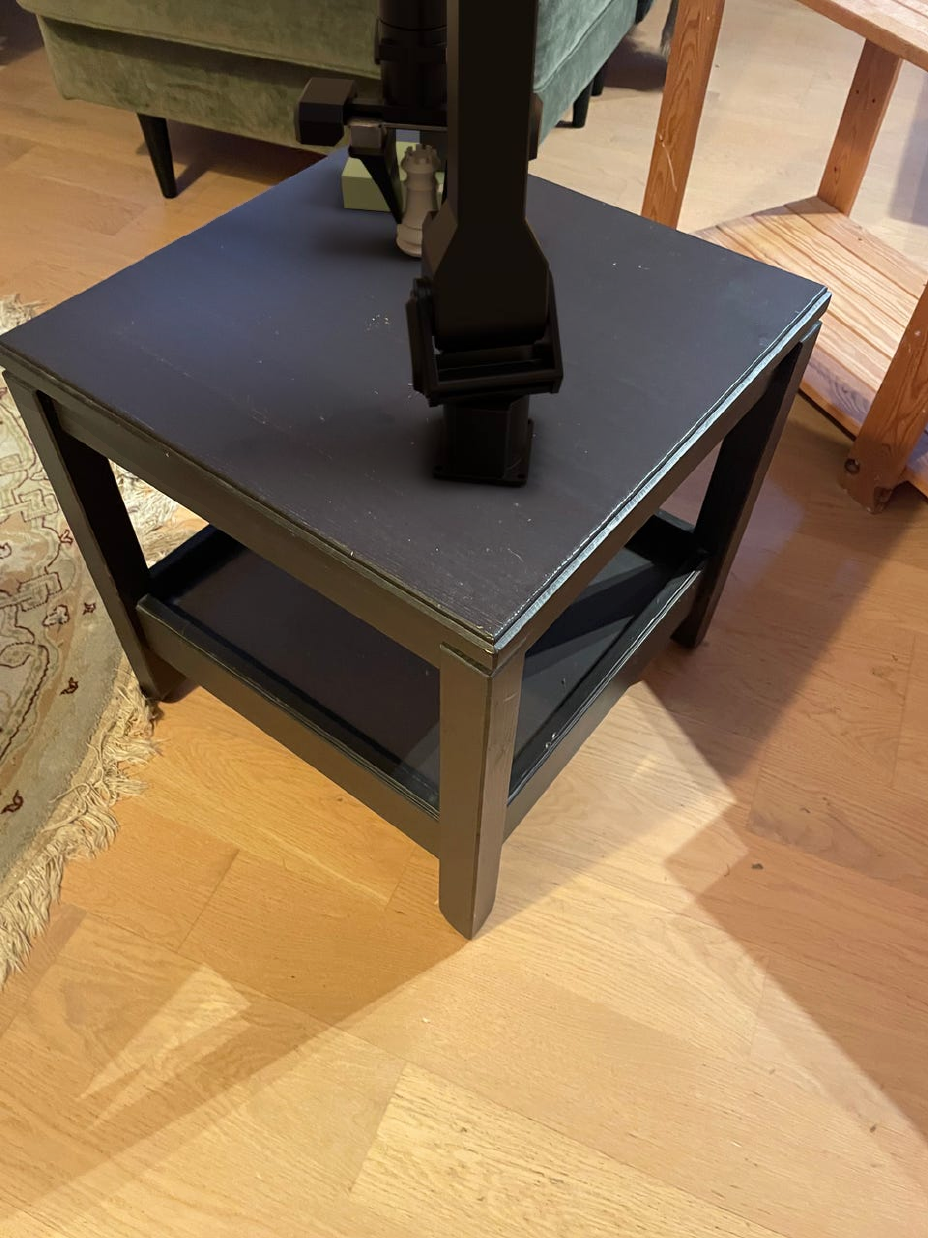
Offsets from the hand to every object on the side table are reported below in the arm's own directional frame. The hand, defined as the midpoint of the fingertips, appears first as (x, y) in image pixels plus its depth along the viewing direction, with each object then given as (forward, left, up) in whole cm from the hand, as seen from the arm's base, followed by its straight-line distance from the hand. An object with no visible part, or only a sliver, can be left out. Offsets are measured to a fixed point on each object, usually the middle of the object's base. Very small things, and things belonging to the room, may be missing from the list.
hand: (422, 223), depth 78 cm
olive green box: (+8, +1, -2) cm, 9 cm away
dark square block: (+8, -1, +1) cm, 8 cm away
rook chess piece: (0, 0, -2) cm, 2 cm away
